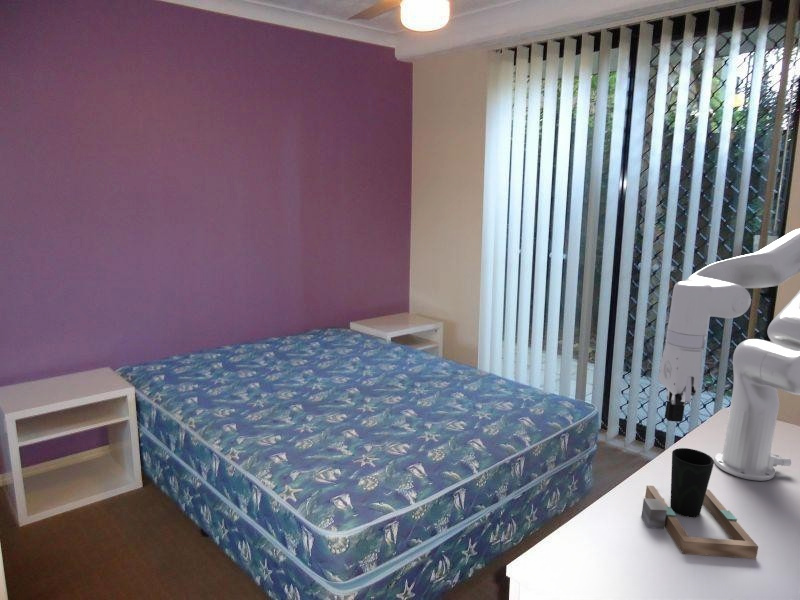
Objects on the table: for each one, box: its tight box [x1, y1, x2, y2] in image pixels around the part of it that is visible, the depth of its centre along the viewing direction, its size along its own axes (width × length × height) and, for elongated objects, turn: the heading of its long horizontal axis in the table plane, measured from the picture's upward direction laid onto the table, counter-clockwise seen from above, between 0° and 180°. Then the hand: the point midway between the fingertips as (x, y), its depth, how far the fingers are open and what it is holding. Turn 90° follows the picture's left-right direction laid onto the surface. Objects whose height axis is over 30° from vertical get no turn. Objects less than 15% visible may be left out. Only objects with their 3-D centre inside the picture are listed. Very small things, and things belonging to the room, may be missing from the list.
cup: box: [669, 447, 715, 518], centre depth 118 cm, size 8×8×12 cm
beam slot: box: [641, 485, 759, 560], centre depth 114 cm, size 17×20×4 cm
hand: (673, 419), depth 126 cm, fingers closed
